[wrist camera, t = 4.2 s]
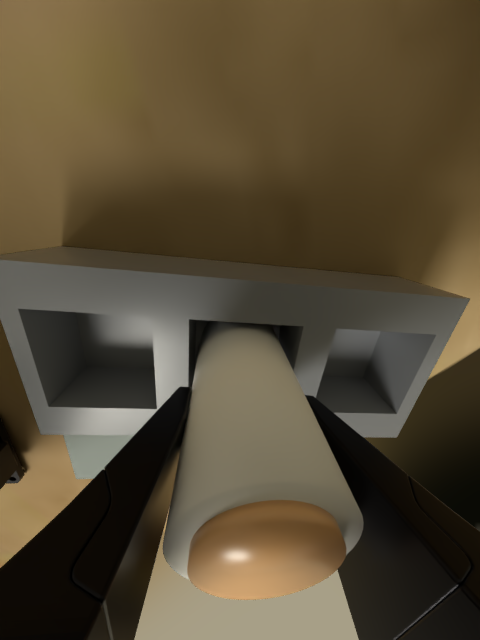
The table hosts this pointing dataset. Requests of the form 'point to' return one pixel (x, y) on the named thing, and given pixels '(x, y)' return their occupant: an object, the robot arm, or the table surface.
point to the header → (189, 323)
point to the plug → (255, 476)
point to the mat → (93, 452)
